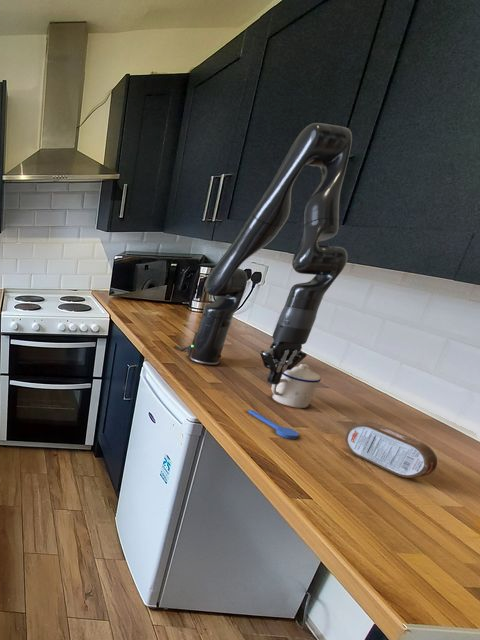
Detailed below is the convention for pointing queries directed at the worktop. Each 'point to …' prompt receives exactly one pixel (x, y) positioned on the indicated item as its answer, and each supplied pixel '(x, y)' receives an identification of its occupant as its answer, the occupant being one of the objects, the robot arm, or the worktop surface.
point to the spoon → (276, 427)
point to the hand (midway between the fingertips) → (272, 383)
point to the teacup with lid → (296, 387)
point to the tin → (391, 450)
